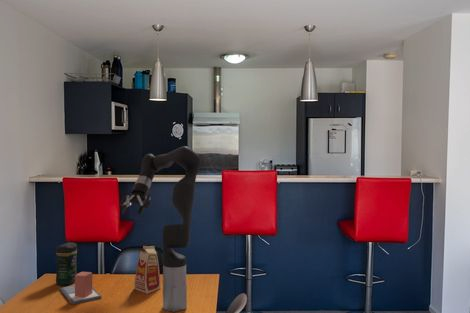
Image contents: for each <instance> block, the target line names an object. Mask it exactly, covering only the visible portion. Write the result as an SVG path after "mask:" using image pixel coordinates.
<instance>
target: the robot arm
mask: <svg viewBox="0 0 470 313" xmlns="http://www.w3.org/2000/svg"><path fill="white" fill-rule="evenodd" d="M200 160H201V158H200V155H199V154H198V153H197V152H195V151H194V150H193V149H192V148H190V147H188V146H186V145H184V146H181V147H177V148H176V149H173V150H171V151H170V152H168V153H164V154H158V155H156V156H155V155H154V154H152V153H147V154H145V155H144V156H143V157H142V159H141V167H140V173H139V175H138V177H137V179H136V180H135V183H134V185H133V187H132V190H131V194H130V195H127V193H125V194H124V195H123V196H122V198H121V200H120V201H119V202H120V203H119V204H120V206H121V209H120V212H121V215H124V214H126V211H127V209H128V207H131V206H132V205H139V204H140V205H139V207H138V210H137V214H138V215H139V216H141V215H142V214H143V212H144V209H145V208H146V209H148V208H149V207H150V205H151V204H150V203H151V201H152V197H151V196H150V195H149V190H150V188H151V186H152V183H153V179H154V177H155V173H158V172H159V171H161V170H162V169H168V168H170V167H172V165H174V163H176V164H177V165H179V166H180V167H182V169H184V170H185V175H184V176H183V177H182V178H181V179H179V180H178V181H177V182H176V183H175V184H174V186H173V189H172V190H173V192H172V197H171V200H172V204H173V206H174V208H175V209H176V211H177V212H178V214H179V216H180V218H181V221H182V224H180V223H179V224H178V223H176V224H172V223H171V224H170V223H169V224H168V223H167V224H165V225H164V226H163V227H162V230H161V231H162V232H161V241H162V243H161V244H162V245H161V246H162V308H163V310H165V311H168V312H172V313H175V312H179V311H183V310H186V309H187V307H188V306H187V305H188V302H187V300H188V299H187V298H188V297H187V294H188V293H187V292H188V291H187V290H188V287H187V257H186V256H185V255H183V254H181V253H178V252H176V251H175V250H174V249H185V248H187V247H188V246H189V244H190V239H191V223H192V212H193V204H194V199H195V197H194V196H195V189H196V180H197V174H198V171H199V167H200V163H201V162H200ZM173 248H174V249H173Z"/></svg>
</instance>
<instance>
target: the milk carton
mask: <svg viewBox="0 0 470 313" xmlns="http://www.w3.org/2000/svg"><path fill="white" fill-rule="evenodd" d="M155 247H156V246H155V245H152V246H147V245H143V246H142V249H141V250H140V252H139V256H138V262H137V265H136V266H137V267H136V270H135V278H134V284H133V285H134V286H133V288H134V289H135V290H136V291H138V292H141V293H144V294H146V295H147V294H150V293H152V292H155V291H158V290H159V289H161V273H160V264H159V259H158V252H157V251H156V249H155Z"/></svg>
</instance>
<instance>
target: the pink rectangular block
mask: <svg viewBox="0 0 470 313" xmlns="http://www.w3.org/2000/svg"><path fill="white" fill-rule="evenodd" d="M74 285H75V296H76V297H87V296H89V295H90V294H92V287H93V272H91V271H81V272H77V274H76V275H75V282H74Z"/></svg>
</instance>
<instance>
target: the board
mask: <svg viewBox="0 0 470 313" xmlns="http://www.w3.org/2000/svg"><path fill="white" fill-rule="evenodd" d="M59 290H60V292H61V293H62V295H64V297H65V298H66V300H68V302H69V303H70V305H76V304H81V303H82V304H83V303H86V302H90V301H94V300H95V301H96V300H100V299H102V295H101V294H100V293H99V292H98V291H97V290H96V289H95V288H94V286H92V294H90V295H89V296H87V297H76V296H75V284H73V285H70V286H69V285H67V286H63V287H60V288H59Z"/></svg>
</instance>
